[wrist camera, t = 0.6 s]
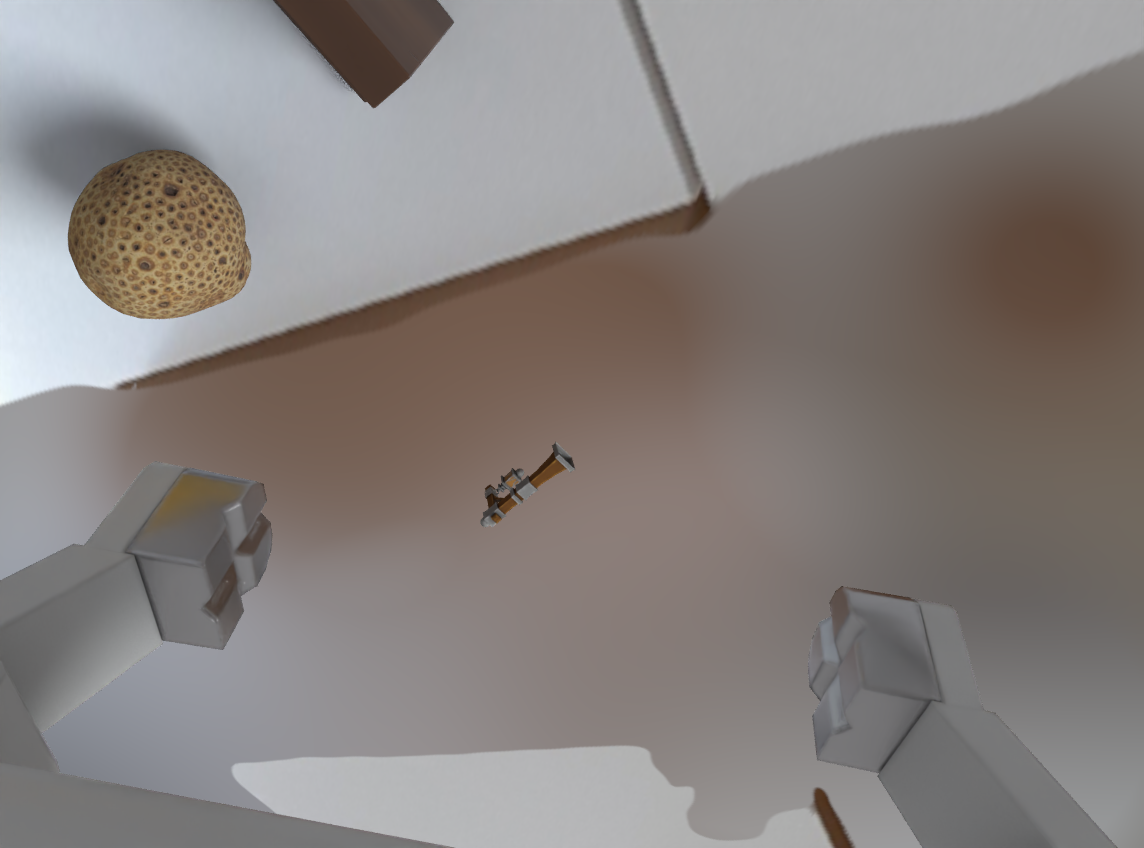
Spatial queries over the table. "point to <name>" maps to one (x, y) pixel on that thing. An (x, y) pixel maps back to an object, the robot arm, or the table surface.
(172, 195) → the natural sponge
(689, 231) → the table surface
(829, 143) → the table surface
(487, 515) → the toy blunderbuss
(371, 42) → the walnut wall
